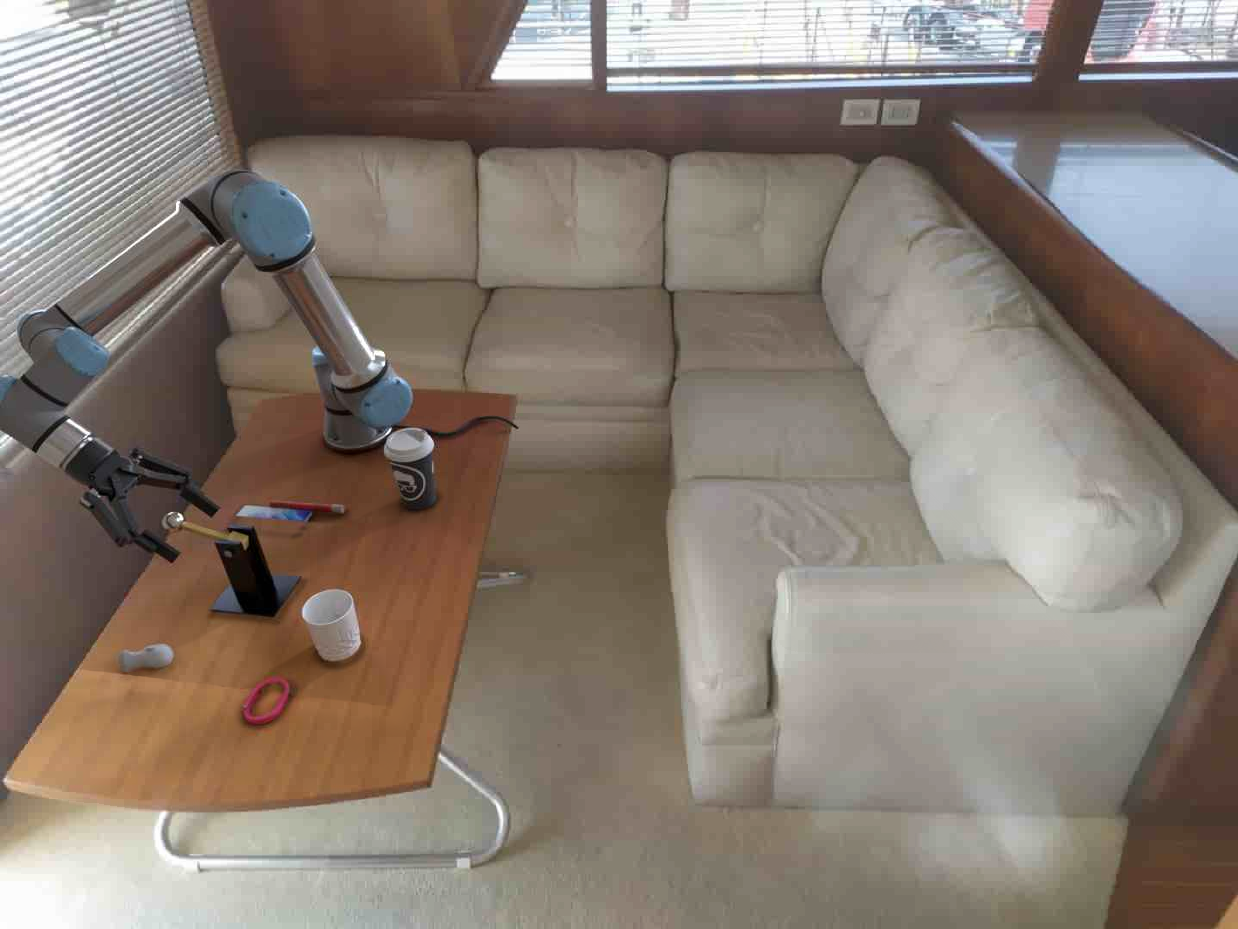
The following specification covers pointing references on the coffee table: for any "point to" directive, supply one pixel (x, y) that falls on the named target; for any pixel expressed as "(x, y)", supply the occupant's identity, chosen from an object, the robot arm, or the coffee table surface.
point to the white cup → (332, 624)
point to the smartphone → (274, 513)
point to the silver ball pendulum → (199, 529)
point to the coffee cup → (412, 466)
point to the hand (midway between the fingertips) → (197, 534)
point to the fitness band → (255, 695)
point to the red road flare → (308, 506)
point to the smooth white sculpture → (146, 658)
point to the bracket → (250, 578)
